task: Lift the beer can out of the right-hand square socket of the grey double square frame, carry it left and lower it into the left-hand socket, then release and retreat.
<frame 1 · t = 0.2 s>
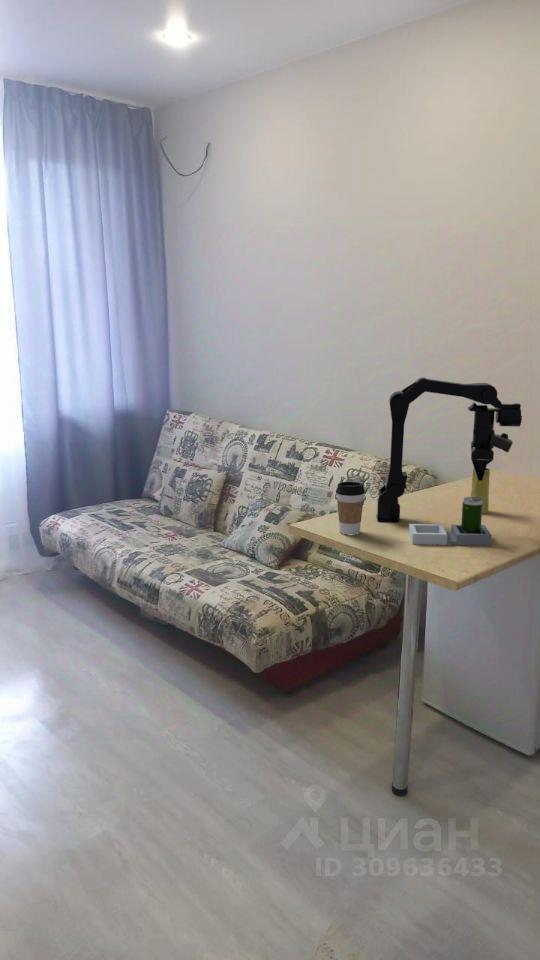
hand: (480, 476, 212), 14 cm above the table, fingers open, 9 cm apart
grey double square frame: (448, 539, 199), on the table
vase: (478, 512, 226), on the table
beer can: (470, 540, 199), resting in grey double square frame
coffee cup: (349, 533, 207), on the table
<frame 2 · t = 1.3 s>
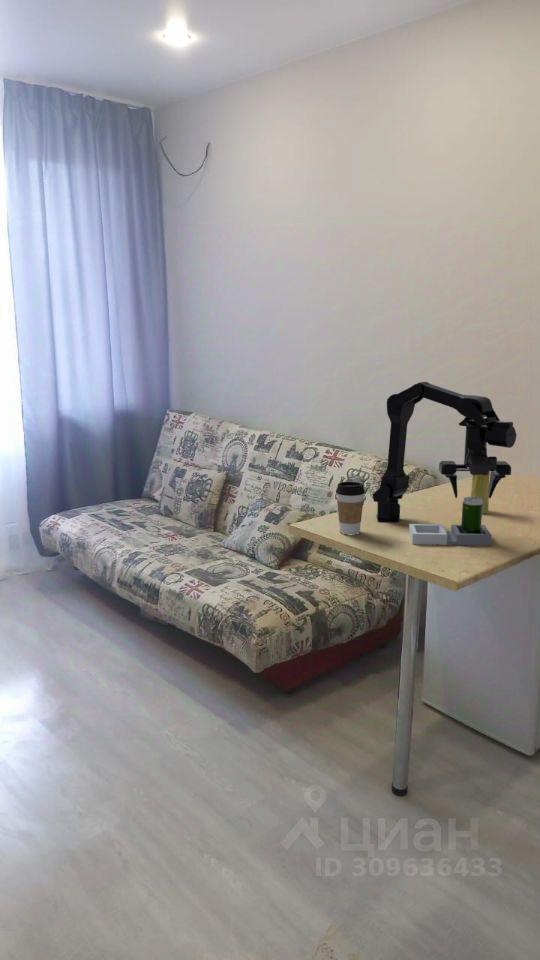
hand: (472, 497, 196), 12 cm above the table, fingers open, 9 cm apart
nothing on the table moved.
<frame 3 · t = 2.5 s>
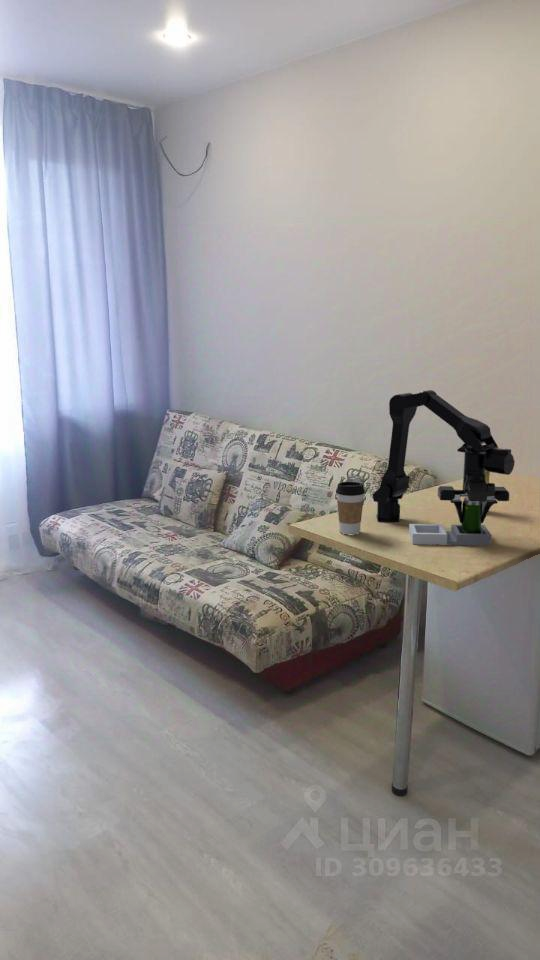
hand: (471, 522, 198), 5 cm above the table, fingers closed on beer can, 5 cm apart
beer can: (470, 540, 199), resting in grey double square frame, touching gripper
everything else where it was.
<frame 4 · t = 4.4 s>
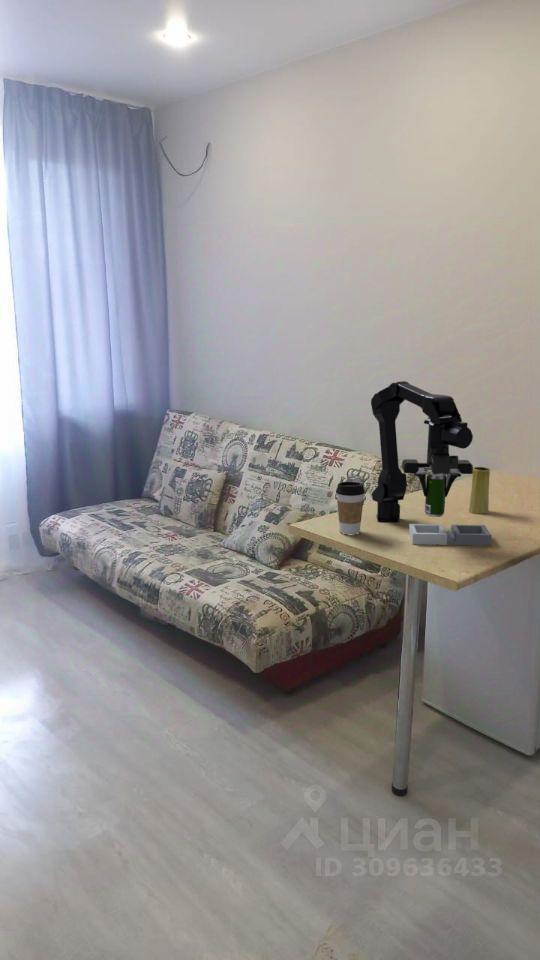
hand: (435, 496, 197), 13 cm above the table, fingers closed on beer can, 5 cm apart
beer can: (434, 515, 198), point 7 cm above the table, touching gripper
everything else where it was.
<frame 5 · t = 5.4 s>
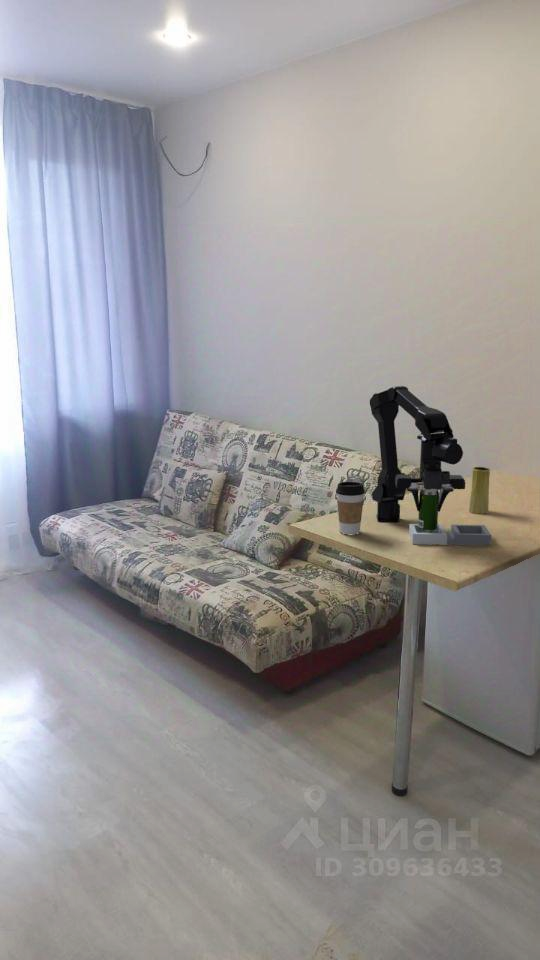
hand: (428, 511, 198), 8 cm above the table, fingers closed on beer can, 5 cm apart
beer can: (427, 530, 199), point 3 cm above the table, touching gripper
everything else where it was.
when the fingers open (6 cm above the table, at t = 6.2 s): beer can stays where it is, resting in grey double square frame.
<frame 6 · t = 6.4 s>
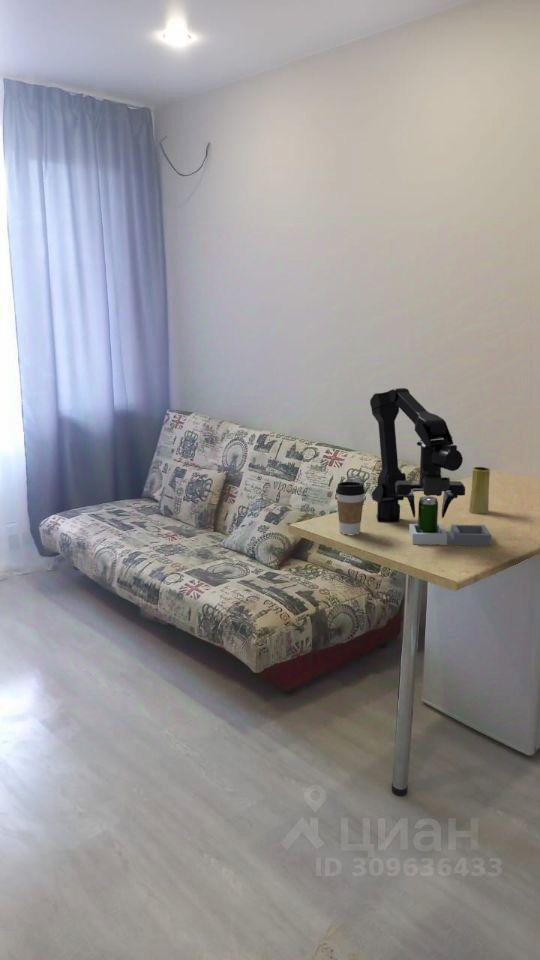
hand: (428, 517, 198), 6 cm above the table, fingers open, 8 cm apart
beer can: (427, 539, 200), resting in grey double square frame
everything else where it was.
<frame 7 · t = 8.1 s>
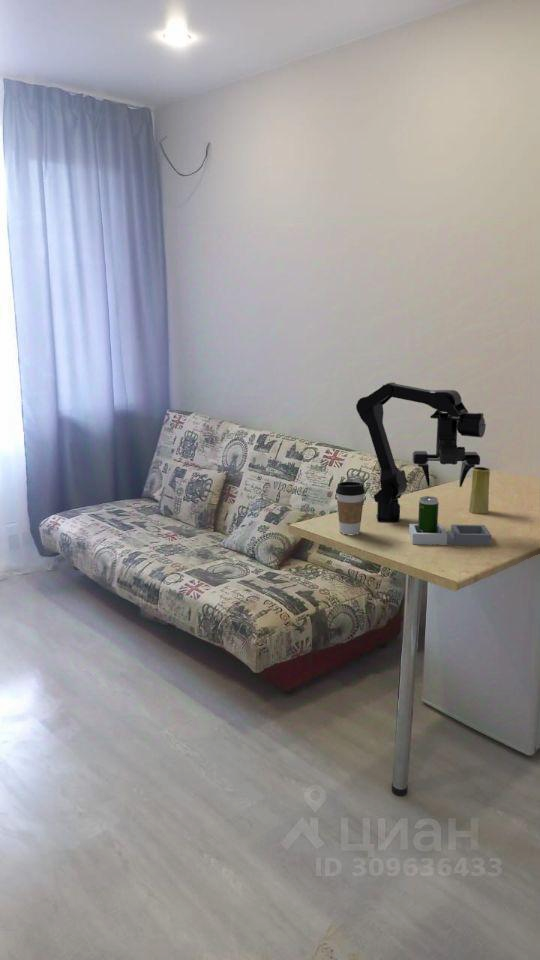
hand: (444, 486, 206), 13 cm above the table, fingers open, 9 cm apart
nothing on the table moved.
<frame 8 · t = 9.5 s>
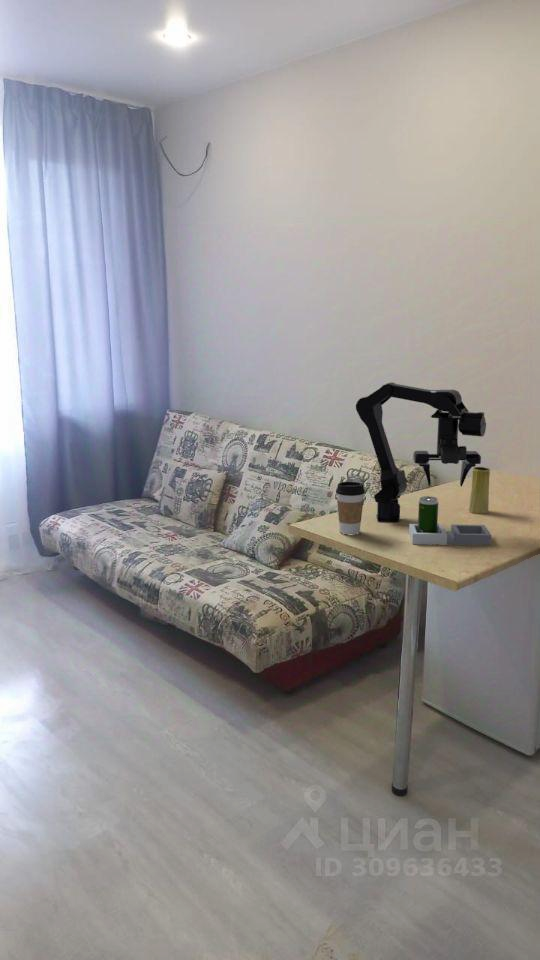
hand: (445, 485, 207), 13 cm above the table, fingers open, 9 cm apart
nothing on the table moved.
at the end: beer can 0.1 cm from the target spot, resting in grey double square frame; beer can tilted 0°; the gripper is holding nothing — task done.
